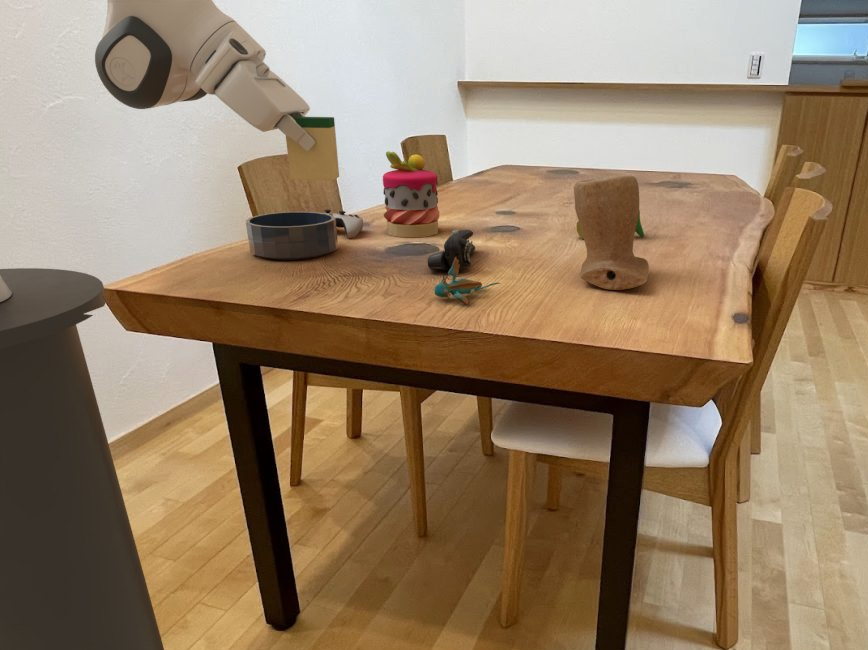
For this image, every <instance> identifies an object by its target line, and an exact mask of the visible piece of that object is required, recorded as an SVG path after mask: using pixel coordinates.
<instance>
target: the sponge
mask: <svg viewBox="0 0 868 650" xmlns="http://www.w3.org/2000/svg"><path fill="white" fill-rule="evenodd" d="M292 118H293V119H294V120H295V121H296V123H297V124H298V125H300V126H301V127H302V128H303V129H304V130H305V131H306V132H308V133H309V134H310V135H312V137H314V138H315V139H316V144H315V146H314V147H313V148H312V149H311V150H308V151H307V150H305V149H304V148H303V147H301V146H300V145H299V144H298V143H297V142H296V141H294V140H292V139H291V138H289V137H288V136H286V135H285V142H286V143H285V144H286V152H287V160H288V168H289V176H290V181H336V180H337V179H338V178H339V177H340V169H339V159H338V158H339V157H338V146H337V135H336V123H335V117H334V116H305V117H292Z"/></svg>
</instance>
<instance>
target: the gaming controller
mask: <svg viewBox="0 0 868 650" xmlns="http://www.w3.org/2000/svg"><path fill="white" fill-rule="evenodd" d="M323 211H324V213H326V214H330V215H333V216H334V217H335V218H336V228H341V229H344V235H345V237H346V238H347V239H353V238H355V237H356V236H357V235H358V234H359V233H361V232H362V231H363V228H364V219H363V217H362V216H360V215H358V214H351V213H350V214H346V212H347V211H345V210H340V211H338V213H335V212H334V213H331V212H332V210H331V209H324V210H323Z"/></svg>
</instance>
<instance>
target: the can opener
mask: <svg viewBox="0 0 868 650" xmlns="http://www.w3.org/2000/svg"><path fill="white" fill-rule="evenodd" d="M473 235H474V231H472V230H470V229H460V230H458V229H454V230H452V232H451V235H450V236H449V237H448V238H447V239H446V240H445V242H444V244H443V250H442V251H439V252H436V253H435V252H434V253H432V254H430V255H428V257H427V267H428V268H429V270H435V271H436V270H441V271H443V270H449V269H450V268H451V267H452V264H453V262H454V259H455V257H456V258H457V260H459V262H458V265H459V264H460V266H459V271H462V270H465V269H467V268H469V267H471V266H472V262H471V256H470V255H472V254H473V253H474V252H475V250H476V246H475V245H474V244H473V240H471V241H470V238H472V237H473Z"/></svg>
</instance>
